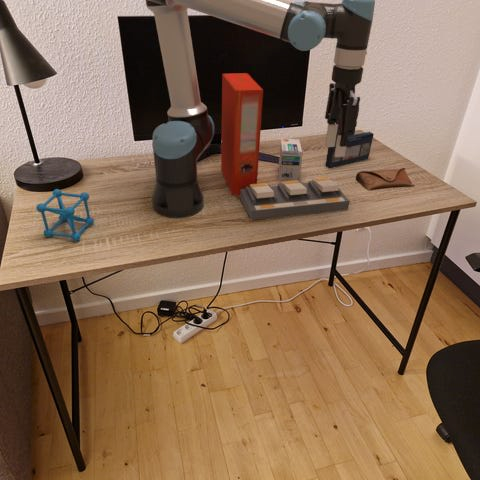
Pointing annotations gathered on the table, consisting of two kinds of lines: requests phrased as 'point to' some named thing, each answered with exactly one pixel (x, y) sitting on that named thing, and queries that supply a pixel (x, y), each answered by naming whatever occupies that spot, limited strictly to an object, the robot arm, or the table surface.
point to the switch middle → (294, 187)
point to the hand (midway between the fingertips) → (334, 151)
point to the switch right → (325, 184)
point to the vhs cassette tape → (351, 150)
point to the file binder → (240, 130)
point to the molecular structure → (65, 214)
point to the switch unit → (293, 202)
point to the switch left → (261, 190)
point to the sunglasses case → (383, 179)
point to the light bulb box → (290, 159)
